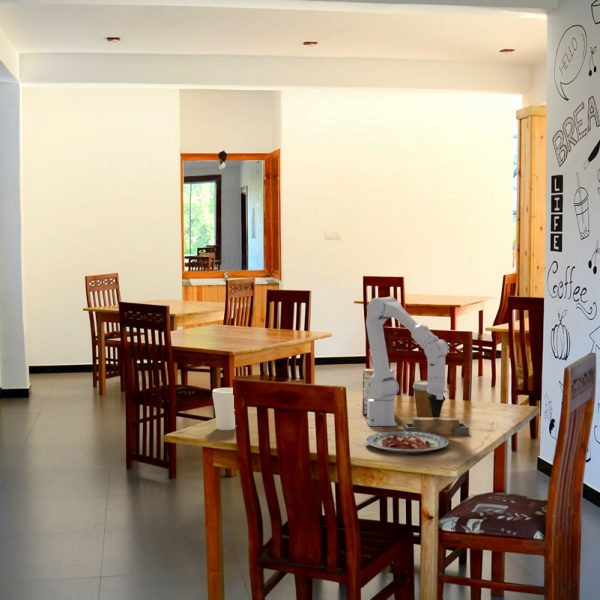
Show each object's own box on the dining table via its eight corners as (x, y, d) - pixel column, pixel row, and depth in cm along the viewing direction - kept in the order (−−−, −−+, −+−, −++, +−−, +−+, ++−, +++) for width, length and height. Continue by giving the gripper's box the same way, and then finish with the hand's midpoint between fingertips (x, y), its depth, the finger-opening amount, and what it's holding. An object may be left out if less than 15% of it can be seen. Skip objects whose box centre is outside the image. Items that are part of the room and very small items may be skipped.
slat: (413, 434, 305) (413, 419, 305) (412, 432, 309) (413, 417, 308) (459, 435, 304) (459, 420, 304) (458, 432, 308) (458, 418, 307)
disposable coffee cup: (437, 413, 340) (438, 380, 339) (439, 418, 330) (439, 385, 329) (411, 412, 341) (412, 380, 340) (412, 417, 331) (412, 384, 330)
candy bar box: (362, 415, 335) (362, 370, 334) (363, 412, 340) (363, 368, 339) (393, 416, 333) (393, 371, 332) (394, 413, 338) (394, 369, 337)
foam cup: (215, 424, 318) (215, 387, 317) (242, 425, 318) (241, 387, 317) (211, 430, 309) (210, 392, 308) (238, 431, 308) (238, 392, 307)
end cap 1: (406, 435, 303) (406, 427, 302) (403, 430, 310) (403, 423, 310) (420, 435, 303) (421, 427, 302) (417, 430, 310) (417, 423, 310)
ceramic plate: (354, 453, 280) (354, 443, 279) (377, 435, 304) (377, 426, 303) (439, 460, 271) (439, 450, 270) (455, 441, 295) (455, 432, 294)
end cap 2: (454, 435, 303) (454, 427, 303) (449, 430, 310) (450, 423, 310) (468, 435, 303) (468, 427, 303) (464, 430, 310) (464, 422, 310)
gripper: (452, 380, 298) (452, 421, 299) (444, 373, 312) (443, 412, 313) (430, 380, 298) (430, 421, 299) (423, 373, 312) (423, 413, 313)
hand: (435, 417), depth 306 cm, fingers closed
